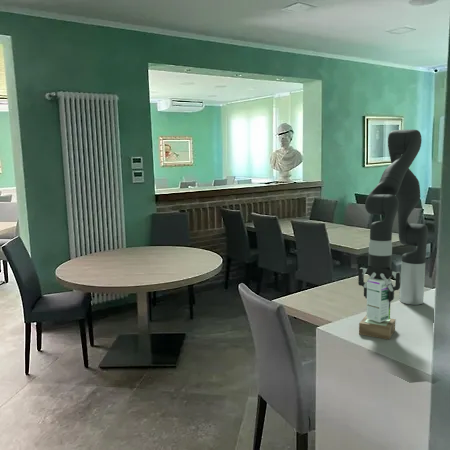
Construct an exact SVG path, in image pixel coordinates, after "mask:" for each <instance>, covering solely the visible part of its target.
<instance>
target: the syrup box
mask: <svg viewBox="0 0 450 450" xmlns="http://www.w3.org/2000/svg"><path fill="white" fill-rule="evenodd" d="M368 279H369V278H366V282H367V280H368ZM388 281H392V279H391V278H390V279H388ZM389 291H390V290H389V288H388V286H387V285H386V284H385V281H384V280H382V279H369V280H368V282H367V299H366V315H367V319H370V320H373V321H376V322H379V323H381V322H383V321H386V320H389V319H390V318H391V302H389Z"/></svg>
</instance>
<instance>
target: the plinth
mask: <svg viewBox="0 0 450 450" xmlns="http://www.w3.org/2000/svg"><path fill="white" fill-rule="evenodd" d="M358 325H359V326H358V335H361V336H362V335H363V336H366V337H373V338H377V339H382V340H383V339H385V340H390V339H391V337H392V336H393V334H394V332H395V331H396V319H395V318H391V317H390V319H389V320H386V321H383V322H381V323H379V322H376V321H373V320H370V319H367V314H365V316H364V317H363V318H362V319H361V320H360V322H359V324H358Z"/></svg>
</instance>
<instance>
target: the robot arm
mask: <svg viewBox="0 0 450 450" xmlns="http://www.w3.org/2000/svg"><path fill="white" fill-rule="evenodd" d="M422 140H423V139H422V135H421V132H420V130H418V129H395V130H394V129H393V130H391V131H390V132H389V133H388V137H387V149H388V153H389V159H390V164H389V165H388V166H387V167H386V168H385V169H384V170H383V173H382V175H381V176H380V179H379V182H378V183H377V185H376V186H375V187H373V189H372V191H371V192H370V193H369V194H368V195H367V197H366V199H365V201H364V203H365V204H364V206H365V207H364V208H365V210H366V212H367V213H368V214H370V215H376V216H377V215H378V216H385V217H384V219H383V220H378V221H374V222H371V224H370V228H369V242H368V251H367V252H368V258H367V259H368V262H367V268H365V267H360V268H358V277H357V278H358V279H357V281H358V282H357V283H358V286H360V287H361V286H362V287H363V297H364V298H365V299H366V300H367V282H368V280H369V279H382V280H384V281H385V284H386V285H387V286H388V288H389V290H390V291H389V302H390V303H392V301H393V300H394V299H395V291H399V295H398V296H399V297H398V299H399V301H400V303H403V304H407V305H412V306H413V305H414V306H416V305H422V304H424V300H425V299H424V297H425V296H424V295H425V282H426V281H425V276H426V275H425V274H426V258H427V246H428V238H429V237H428V236H429V229H428V225H427V224H424V223H413V222H411V223H410V222H409V221H408V220H409V216H410V215H411V213H412V212H413V211H414V209H415V208H416V206H417V205H418V203H419V202H420V200H421V185H420V181H419V179H418V178H417V176H416V175H415V174H414V173H413V171H412V170H411V169H410V167H411V166H412V164H413V162H414V160H415V159H416V158H417V156H418V154H419V152H420V150H421V147H422V142H423V141H422ZM396 216H397V219H398V220H397V226H398V231H397V232H398V240H399V242H400V244H401V245H404V246H411V247H412V246H414V247H416V249H414V250H413V251H410V252H405V253H403V254H402V255H401V265H400V267H401V268H400V271H393V270H392V261H393V260H392V258H393V241H392V239H393V235H392V234H393V226H394V221H395V218H396ZM366 273H367V274H368V278H367V279H368V280H367V279H366V281H365V280H364V279H365V278H364V277H365V274H366ZM392 276H393V277H394V279H395V284H393V282H392V280H391V281H388V279H391V277H392Z"/></svg>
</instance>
